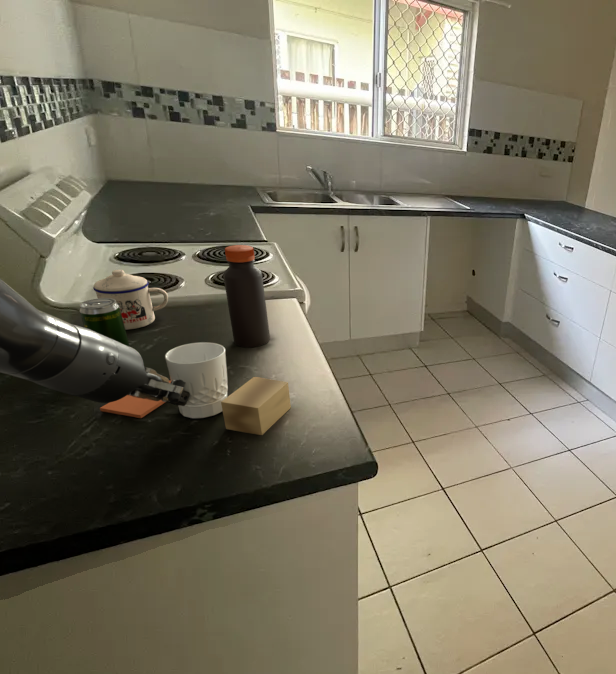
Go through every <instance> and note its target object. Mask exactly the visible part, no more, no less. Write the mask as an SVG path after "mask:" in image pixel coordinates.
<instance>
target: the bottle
mask: <svg viewBox="0 0 616 674" xmlns="http://www.w3.org/2000/svg"><path fill="white" fill-rule="evenodd" d="M224 253H225V254H224V255H225V260H226V263H228V267H227V268H226V269H225V270H224V272H223V274H222V277H223V282H224V288H225V294H226V300H227V308H228V313H229V319H230V326H231V332H232V337H233V338H232V339H233V343H234V344H235V345H236V346H239V347H242V348H256V347H260V346H264V345H265V344H268V343H269V341H270V340H271V334H270V327H269V325H270V324H269V318H268V311H267V302H266V295H265V287H264V280H263V279H264V278H263V272H262V270H261V269H259V268H258V267H257V266H256V265H255V264H254V262H256V260H255V250H254V247H253V246H251V245H247V244H246V245H245V244H234V245H229V246H226V247H224Z"/></svg>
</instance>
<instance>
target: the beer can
mask: <svg viewBox="0 0 616 674" xmlns="http://www.w3.org/2000/svg"><path fill="white" fill-rule="evenodd" d="M79 314H80V318H81V322H82V324H83V327H84V328H87V329H90V330H92V331H95V332H97V333H99V334H101V335H104V336H106V337H108V338H111V339H113V340H115V341H117V342H120V343H122V344H124V345H126V346H129V347H131V345H130V342H129V339H128V335H127V330H125V327H124V323H123V319H122V315H121V311H120V308H119V305H118V304H117V303H116V300H115V299H111V298H92V299H87V300H85V301H82V302H81V303H79Z"/></svg>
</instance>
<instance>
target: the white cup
mask: <svg viewBox="0 0 616 674" xmlns="http://www.w3.org/2000/svg"><path fill="white" fill-rule="evenodd" d="M164 359H165V363H166V368H167V371H168V374H169V379H170V381H172V380H175V381H176V380H183V381H184V382H186V384H185V387H184V390H185V391H187V392H189V393H190V396H189V399H188V401H187V404H186V405H185V406H180V405H177V407H178V410H179V413H180V414H181V416H183V417H186V418H190V419H204V418H209V417H212V416H217V415H218V414H220V413H223V410H222V405H221V401H223V400H224V399H225V398H227V397H228V396H229V395H228V391H229V386H228V369H227V356H226V348H225V347H224V345H222V344H219V343H216V342H208V341H207V342H205V341H201V342H191V343H185V344H182V345H178V346H176V347H174V348H171V349H170V350H168V351H167V352H166V353H165V354H164Z"/></svg>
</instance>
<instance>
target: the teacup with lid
mask: <svg viewBox="0 0 616 674" xmlns="http://www.w3.org/2000/svg"><path fill="white" fill-rule="evenodd" d="M92 288H93V291H94V292H95V293H96V297H97V298H96V299H98V298H111V299H115V300H116V303H117V304H118V305H119V308H120V311H121V315H122V319H123V323H124V327H125V330H126V331H127V330H134V329H135V330H136V329H139V328H143V327H146V326H149V325H151V324H152V323H153V322H155V319H156V316H155V313H154V312H155V311H159V310H162V309H164V308H165V307H166V306H167V304H168V301H169V295H168V292H166V290H164V289H163V288H160V287H149V281H148V280H147V279H146V278H145V277H142V276H139V275H133V274H131V273H130V274H129V273H126V272H125V271H124V270H123V269H113V270H112V272H111V274H110V275H108V276H106V277H105V278H102V279H99V280H97V281H96V282H94V284H93V287H92ZM151 293H159V294H161V295H163V298H164V299H163V302H162V303H161V304H159V305H154V306H153V304H152V303H153V302H152V299H151V295H150V294H151Z"/></svg>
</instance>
